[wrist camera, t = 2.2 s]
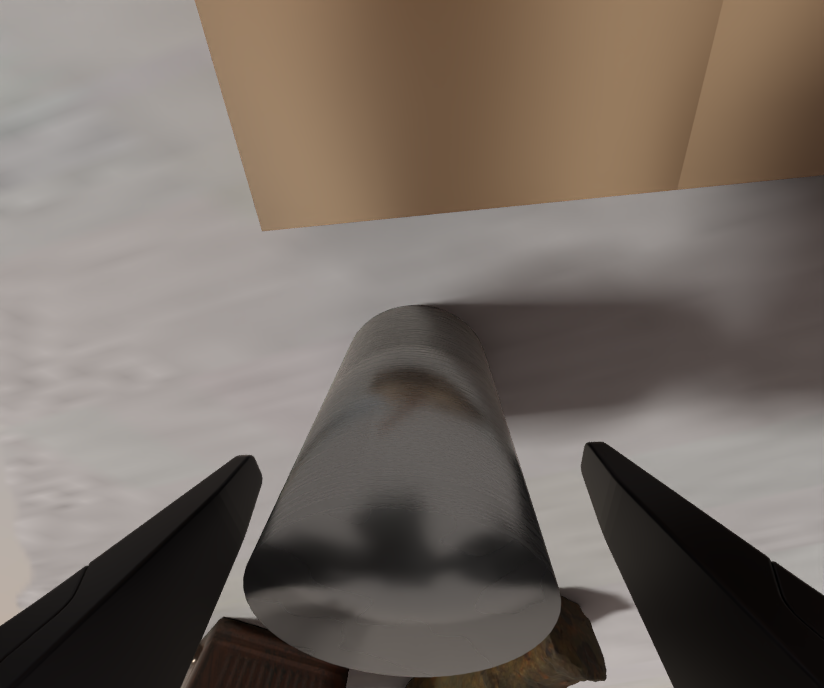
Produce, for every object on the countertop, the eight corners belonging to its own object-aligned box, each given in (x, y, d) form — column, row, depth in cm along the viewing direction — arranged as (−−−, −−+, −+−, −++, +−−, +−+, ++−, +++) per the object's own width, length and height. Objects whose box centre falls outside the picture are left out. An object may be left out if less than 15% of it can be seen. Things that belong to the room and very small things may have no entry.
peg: (486, 299, 11) (582, 503, 4) (486, 422, 14) (545, 680, 7) (333, 311, 12) (191, 512, 5) (359, 427, 14) (290, 674, 7)
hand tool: (540, 578, 19) (570, 687, 15) (588, 601, 20) (628, 710, 16) (376, 677, 27) (366, 767, 23) (416, 691, 28) (413, 780, 24)
